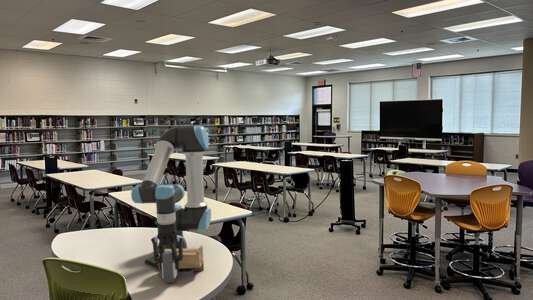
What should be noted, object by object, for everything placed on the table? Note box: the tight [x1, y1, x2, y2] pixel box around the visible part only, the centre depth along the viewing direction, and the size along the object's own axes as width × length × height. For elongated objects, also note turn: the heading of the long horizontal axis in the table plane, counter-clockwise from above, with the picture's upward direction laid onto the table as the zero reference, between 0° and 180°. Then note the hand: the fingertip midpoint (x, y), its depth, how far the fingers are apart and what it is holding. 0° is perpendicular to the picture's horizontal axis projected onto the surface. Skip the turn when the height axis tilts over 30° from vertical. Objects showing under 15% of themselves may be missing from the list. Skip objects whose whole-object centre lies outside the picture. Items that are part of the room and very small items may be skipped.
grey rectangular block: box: [162, 251, 180, 284], centre depth 168 cm, size 13×4×12 cm, turn 178°
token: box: [176, 268, 196, 278], centre depth 172 cm, size 6×6×3 cm
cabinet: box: [158, 245, 205, 279], centre depth 173 cm, size 8×18×11 cm, turn 88°
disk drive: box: [144, 256, 159, 271], centre depth 186 cm, size 10×3×15 cm
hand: (169, 276), depth 164 cm, fingers closed on grey rectangular block, 4 cm apart
